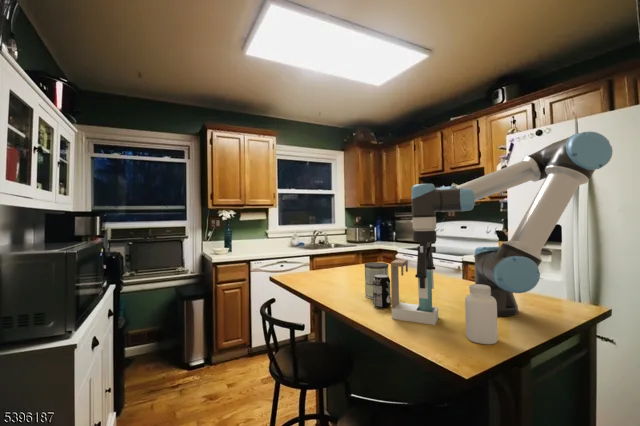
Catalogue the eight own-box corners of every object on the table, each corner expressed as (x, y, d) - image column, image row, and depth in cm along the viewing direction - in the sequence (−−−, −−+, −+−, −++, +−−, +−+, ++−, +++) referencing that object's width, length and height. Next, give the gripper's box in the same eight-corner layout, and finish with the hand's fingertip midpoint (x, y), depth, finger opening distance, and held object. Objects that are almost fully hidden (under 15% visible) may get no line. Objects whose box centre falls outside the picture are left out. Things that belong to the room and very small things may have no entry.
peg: (433, 317, 103) (432, 270, 103) (431, 321, 99) (430, 272, 99) (420, 316, 105) (419, 269, 105) (418, 319, 101) (417, 271, 101)
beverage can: (389, 304, 120) (388, 273, 120) (391, 309, 114) (391, 277, 114) (372, 303, 121) (372, 273, 121) (374, 308, 114) (373, 277, 114)
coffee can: (362, 294, 136) (361, 262, 136) (383, 292, 138) (383, 261, 138) (369, 300, 126) (369, 266, 126) (393, 298, 127) (392, 265, 127)
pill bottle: (460, 334, 89) (459, 283, 89) (486, 333, 90) (485, 282, 90) (476, 346, 81) (475, 290, 81) (504, 344, 82) (503, 289, 82)
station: (438, 317, 104) (437, 261, 104) (435, 325, 97) (434, 265, 97) (397, 311, 110) (396, 259, 111) (391, 318, 103) (390, 262, 104)
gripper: (419, 228, 115) (421, 284, 115) (404, 232, 93) (407, 301, 93) (440, 227, 111) (442, 285, 111) (430, 232, 89) (433, 304, 89)
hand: (426, 293), depth 102 cm, fingers open, 13 cm apart
